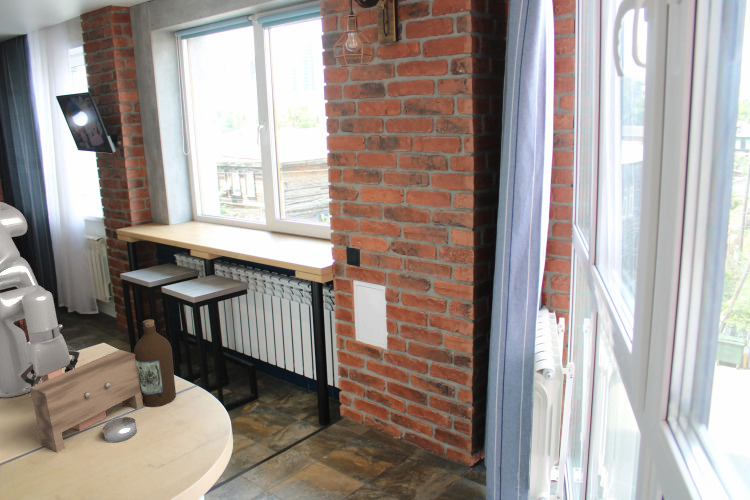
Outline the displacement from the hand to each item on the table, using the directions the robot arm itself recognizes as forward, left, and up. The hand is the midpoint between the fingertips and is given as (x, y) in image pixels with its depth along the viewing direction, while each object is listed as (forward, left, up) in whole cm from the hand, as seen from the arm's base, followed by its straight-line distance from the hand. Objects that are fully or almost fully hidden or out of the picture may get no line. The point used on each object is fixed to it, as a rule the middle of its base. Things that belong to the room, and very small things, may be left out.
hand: (55, 389), depth 167 cm
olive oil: (+22, +18, -7) cm, 29 cm away
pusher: (+7, 0, -7) cm, 10 cm away
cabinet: (+17, 0, -7) cm, 19 cm away
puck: (+28, 0, -7) cm, 29 cm away
